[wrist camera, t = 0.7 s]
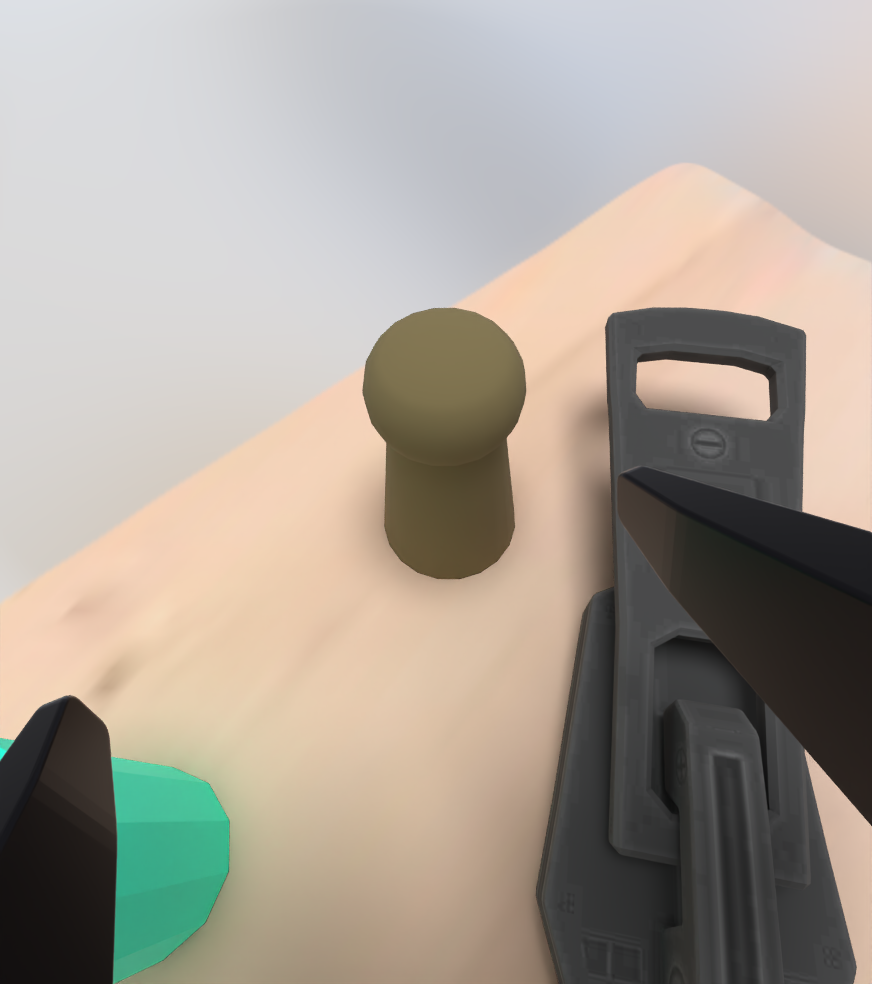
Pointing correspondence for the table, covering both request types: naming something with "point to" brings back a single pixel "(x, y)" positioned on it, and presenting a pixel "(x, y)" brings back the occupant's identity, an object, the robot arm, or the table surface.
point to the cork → (446, 438)
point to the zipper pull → (687, 720)
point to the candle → (162, 860)
